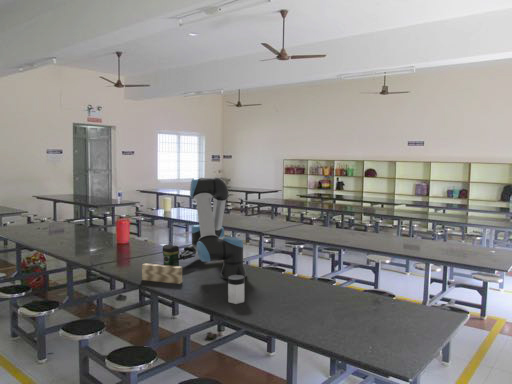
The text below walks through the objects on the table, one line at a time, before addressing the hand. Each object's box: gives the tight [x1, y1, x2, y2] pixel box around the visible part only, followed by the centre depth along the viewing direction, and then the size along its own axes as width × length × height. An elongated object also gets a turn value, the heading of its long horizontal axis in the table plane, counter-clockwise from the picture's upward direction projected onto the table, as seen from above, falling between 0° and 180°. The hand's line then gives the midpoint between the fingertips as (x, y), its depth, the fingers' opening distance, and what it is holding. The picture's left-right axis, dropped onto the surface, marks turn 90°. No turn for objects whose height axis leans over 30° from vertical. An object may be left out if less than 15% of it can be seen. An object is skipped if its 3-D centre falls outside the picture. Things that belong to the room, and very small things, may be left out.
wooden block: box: [141, 262, 183, 285], centre depth 233 cm, size 24×3×9 cm, turn 73°
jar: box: [227, 275, 246, 305], centre depth 202 cm, size 9×8×12 cm
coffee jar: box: [162, 243, 180, 266], centre depth 243 cm, size 10×8×19 cm
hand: (173, 260), depth 247 cm, fingers closed
